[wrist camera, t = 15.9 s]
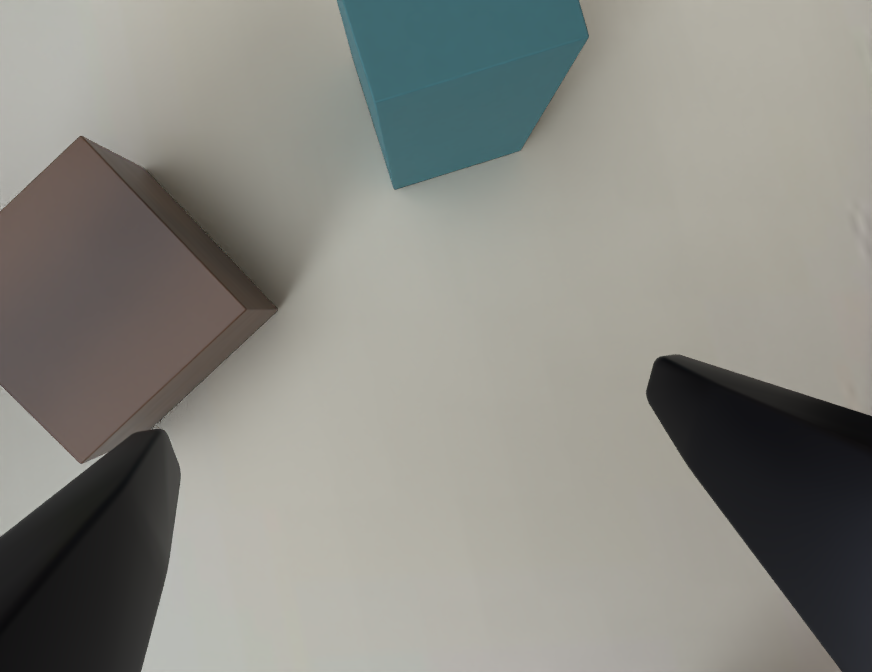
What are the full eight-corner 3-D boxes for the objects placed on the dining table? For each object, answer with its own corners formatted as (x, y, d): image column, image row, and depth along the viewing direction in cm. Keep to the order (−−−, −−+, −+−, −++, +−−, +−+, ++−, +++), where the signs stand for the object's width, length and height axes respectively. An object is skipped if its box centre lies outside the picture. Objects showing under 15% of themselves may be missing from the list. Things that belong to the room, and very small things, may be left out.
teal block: (520, 150, 19) (590, 36, 11) (394, 190, 19) (373, 103, 11) (481, 19, 19) (524, -194, 11) (352, 58, 19) (302, -128, 11)
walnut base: (278, 309, 19) (247, 309, 16) (141, 437, 19) (80, 465, 16) (143, 167, 19) (80, 134, 15) (3, 298, 19) (-91, 296, 16)
